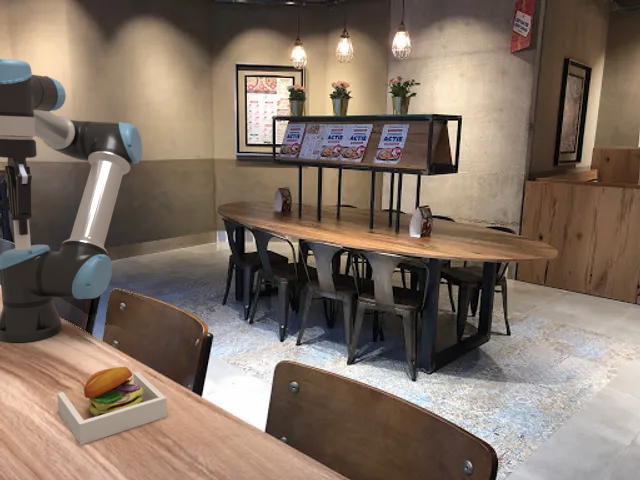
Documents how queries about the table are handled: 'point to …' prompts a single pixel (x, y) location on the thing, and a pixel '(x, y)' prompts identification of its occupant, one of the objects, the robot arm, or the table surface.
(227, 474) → the table surface
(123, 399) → the cheeseburger
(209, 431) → the table surface
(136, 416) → the box
